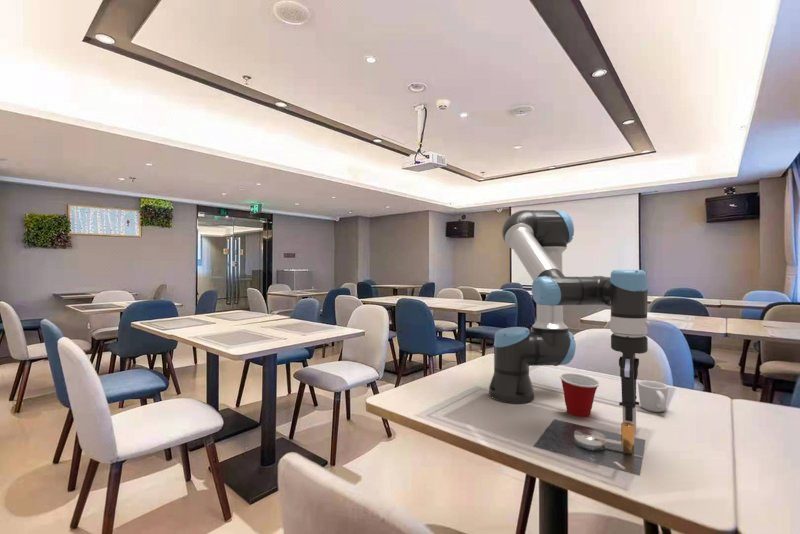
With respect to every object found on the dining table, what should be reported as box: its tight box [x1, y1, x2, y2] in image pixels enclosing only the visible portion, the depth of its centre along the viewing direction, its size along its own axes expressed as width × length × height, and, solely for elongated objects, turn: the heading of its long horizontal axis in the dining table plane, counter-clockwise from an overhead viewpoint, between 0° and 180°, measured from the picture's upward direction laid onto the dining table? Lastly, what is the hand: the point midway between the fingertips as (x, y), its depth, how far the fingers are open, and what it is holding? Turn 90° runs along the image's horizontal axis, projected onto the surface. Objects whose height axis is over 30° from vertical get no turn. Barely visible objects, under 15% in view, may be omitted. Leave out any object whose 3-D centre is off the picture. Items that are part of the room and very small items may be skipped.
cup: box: [637, 379, 669, 413], centre depth 119 cm, size 11×8×8 cm
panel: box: [533, 419, 646, 476], centre depth 94 cm, size 22×20×2 cm
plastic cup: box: [559, 372, 601, 418], centre depth 113 cm, size 11×11×12 cm
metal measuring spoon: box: [574, 422, 635, 454], centre depth 92 cm, size 13×7×6 cm, turn 62°
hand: (629, 432), depth 91 cm, fingers closed
